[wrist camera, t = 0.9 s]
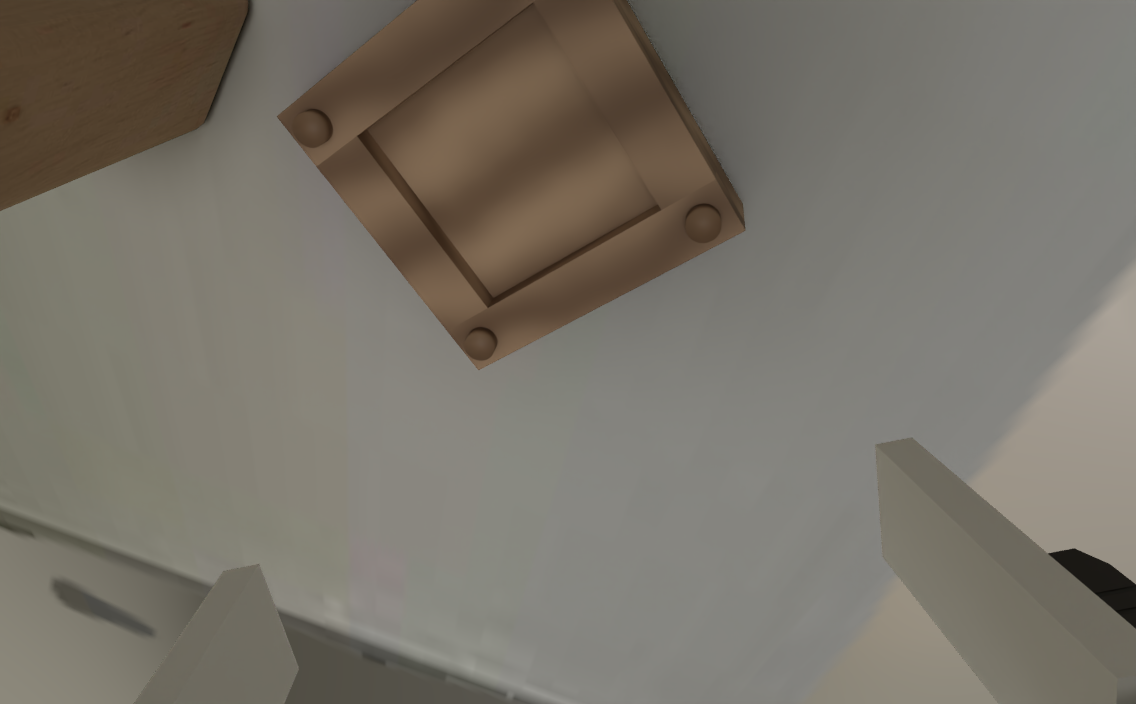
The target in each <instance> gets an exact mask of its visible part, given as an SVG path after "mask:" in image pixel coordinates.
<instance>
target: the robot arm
mask: <svg viewBox="0 0 1136 704" xmlns="http://www.w3.org/2000/svg"><path fill="white" fill-rule="evenodd" d="M875 448H876V463H877V479H878V494H879V509H880V524H881V540H882V555H883V558H884V559H885V560H886V562H887V563H888V564H889V566H890V567H891V568H892V569H893V571H894V572H895V573H896V574H897V576H898V577H899V578H900V579H901V581H902V582H903V583H904V584H905V586H906V587H907V588H908V589H909V591H910V592H911V593H912V595H913V596H914V597H915V598H916V600H917V601H918V602H919V603H920V605H921V606H922V607H923V609H924V610H925V611H926V612H927V613H928V615H929V616H930V617H931V619H932V620H933V621H934V622H935V624H936V625H937V626H938V628H939V629H940V630H941V631H942V633H943V634H944V635H945V636H946V638H947V639H948V640H949V641H950V643H951V644H952V645H953V646H954V648H955V649H956V650H957V651H958V653H959V654H960V655H961V657H962V658H963V659H964V660H965V662H966V663H967V664H968V666H969V667H970V668H971V669H972V671H973V672H974V673H975V674H976V676H977V677H978V678H979V679H980V681H981V682H982V683H983V685H984V686H985V687H986V688H987V689H988V691H989V692H990V693H991V695H992V696H993V697H994V698H995V700H996V701H997V702H998V703H999V704H1136V584H1135V583H1133V582H1132V581H1131V580H1129V579H1128V578H1127V577H1126V576H1124V575H1123V574H1122V573H1120V572H1119V571H1118V570H1117V569H1115V568H1114V567H1113V566H1111V565H1110V564H1108V563H1106V562H1103V561H1101V560H1099V559H1097V558H1094V557H1092V556H1090V555H1088V554H1086V553H1083V552H1081V551H1079V550H1077V549H1069V550H1064V551H1059V552H1053V553H1046V552H1045V551H1044V550H1043V549H1042V548H1041V547H1039V546H1038V545H1037V544H1036V543H1035V542H1033V541H1032V540H1031V539H1030V538H1029V537H1028V536H1027V535H1025V534H1024V533H1023V532H1022V531H1021V530H1019V529H1018V528H1017V527H1016V526H1015V525H1014V524H1012V523H1011V522H1010V521H1009V520H1008V519H1006V518H1005V517H1004V516H1003V515H1002V514H1001V513H1000V512H998V511H997V510H996V509H995V508H994V507H993V506H991V505H990V504H989V503H988V502H987V501H985V500H984V499H983V498H982V497H981V496H980V495H978V494H977V493H976V492H975V491H974V490H973V489H971V488H970V487H969V486H968V485H967V484H966V483H964V482H963V481H962V480H961V479H960V478H959V477H957V476H956V475H955V474H954V473H953V472H952V471H950V470H949V469H948V468H947V467H946V466H945V465H943V464H942V463H941V462H940V461H939V460H937V459H936V458H935V457H934V456H933V455H932V454H930V453H929V452H928V451H927V450H926V449H925V448H923V447H922V446H921V445H920V444H919V443H918V442H916V441H915V440H914V439H913V438H907V439H902V440H896V441H891V442H886V443H881V444H876V445H875ZM298 669H299V667H298V665H297V662H296V660H295V657H294V654H293V652H292V649H291V646H290V644H289V641H288V639H287V636H286V633H285V631H284V628H283V625H282V623H281V620H280V617H279V615H278V612H277V610H276V607H275V604H274V602H273V599H272V596H271V594H270V591H269V589H268V586H267V583H266V581H265V578H264V575H263V573H262V570H261V568H260V565H259V564H257V565H252V566H246V567H241V568H236V569H231V570H226V571H223V573H222V574H221V576H220V577H219V579H218V580H217V582H216V583H215V585H214V586H213V587H212V589H211V590H210V592H209V593H208V595H207V596H206V598H205V599H204V601H203V602H202V604H201V605H200V607H199V608H198V610H197V611H196V613H195V614H194V616H193V617H192V619H191V620H190V621H189V623H188V624H187V626H186V627H185V629H184V630H183V632H182V633H181V635H180V636H179V638H178V639H177V641H176V642H175V643H174V645H173V646H172V648H171V649H170V651H169V652H168V654H167V655H166V657H165V658H164V660H163V661H162V663H161V664H160V666H159V667H158V669H157V670H156V671H155V673H154V675H153V676H152V677H151V679H150V680H149V682H148V683H147V685H146V686H145V688H144V689H143V691H142V692H141V694H140V695H139V697H138V698H137V699H136V701H135V702H134V704H284V702H285V700H286V698H287V695H288V693H289V691H290V688H291V686H292V683H293V681H294V679H295V676H296V674H297V672H298Z"/></svg>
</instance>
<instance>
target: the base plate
mask: <svg viewBox="0 0 1136 704" xmlns="http://www.w3.org/2000/svg"><path fill="white" fill-rule="evenodd" d="M277 117H278V119H279V120H280V121H281V123H282V124H283V125H284V126H285V128H286V129H287V130H288V131H289V133H290V134H291V135H292V136H293V138H294V139H295V140H296V141H297V143H298V144H299V145H300V146H301V148H302V149H303V150H304V151H305V153H306V154H307V155H308V156H309V158H310V159H311V160H312V161H313V163H314V164H315V165H316V167H317V168H318V169H319V170H320V172H321V173H322V174H323V175H324V177H325V178H326V179H327V180H328V182H329V183H330V184H331V185H332V187H333V188H334V189H335V190H336V192H337V193H338V194H339V195H340V197H341V198H342V199H343V200H344V202H345V203H346V204H347V206H348V207H349V208H350V209H351V211H352V212H353V213H354V214H355V216H356V217H357V218H358V219H359V221H360V222H361V223H362V224H363V226H364V227H365V228H366V229H367V231H368V232H369V233H370V234H371V236H372V237H373V238H374V239H375V241H376V242H377V243H378V244H379V246H380V247H381V248H382V250H383V251H384V252H385V253H386V255H387V256H388V257H389V258H390V260H391V261H392V262H393V263H394V265H395V266H396V267H397V268H398V270H399V271H400V272H401V273H402V275H403V276H404V277H405V278H406V280H407V281H408V282H409V283H410V285H411V286H412V287H413V289H414V290H415V291H416V292H417V294H418V295H419V296H420V297H421V299H422V300H423V301H424V302H425V304H426V305H427V306H428V307H429V309H430V310H431V311H432V312H433V314H434V315H435V316H436V317H437V319H438V320H439V321H440V322H441V324H442V325H443V326H444V327H445V329H446V330H447V331H448V333H449V334H450V335H451V336H452V338H453V339H454V340H455V341H456V343H457V344H458V345H459V346H460V348H461V349H462V350H463V351H464V353H465V354H466V355H467V356H468V358H469V359H470V360H471V361H472V363H473V364H474V365H475V366H476V368H477V369H478V370H480V369H482V368H484V367H486V366H488V365H489V364H491V363H493V362H495V361H497V360H499V359H501V358H503V357H505V356H507V355H509V354H510V353H512V352H514V351H516V350H518V349H520V348H522V347H524V346H526V345H528V344H530V343H532V342H533V341H535V340H537V339H539V338H541V337H543V336H545V335H547V334H549V333H551V332H553V331H554V330H556V329H558V328H560V327H562V326H564V325H566V324H568V323H570V322H572V321H574V320H575V319H577V318H579V317H581V316H583V315H585V314H587V313H589V312H591V311H593V310H595V309H596V308H598V307H600V306H602V305H604V304H606V303H608V302H610V301H612V300H614V299H616V298H618V297H619V296H621V295H623V294H625V293H627V292H629V291H631V290H633V289H635V288H637V287H639V286H640V285H642V284H644V283H646V282H648V281H650V280H652V279H654V278H656V277H658V276H660V275H661V274H663V273H665V272H667V271H669V270H671V269H673V268H675V267H677V266H679V265H681V264H683V263H684V262H686V261H688V260H690V259H692V258H694V257H696V256H698V255H700V254H702V253H704V252H705V251H707V250H709V249H711V248H713V247H715V246H717V245H719V244H721V243H723V242H725V241H726V240H728V239H730V238H732V237H734V236H736V235H738V234H740V233H742V232H744V231H745V221H744V211H743V204H742V202H741V200H740V198H739V197H738V195H737V193H736V191H735V190H734V188H733V186H732V184H731V183H730V181H729V179H728V177H727V176H726V174H725V172H724V170H723V169H722V167H721V165H720V163H719V162H718V160H717V158H716V156H715V155H714V153H713V151H712V149H711V148H710V146H709V144H708V142H707V141H706V139H705V137H704V135H703V134H702V132H701V130H700V128H699V127H698V125H697V123H696V121H695V120H694V118H693V116H692V114H691V112H690V111H689V109H688V107H687V105H686V104H685V102H684V100H683V98H682V97H681V95H680V93H679V91H678V90H677V88H676V86H675V84H674V83H673V81H672V79H671V77H670V76H669V74H668V72H667V70H666V69H665V67H664V65H663V63H662V62H661V60H660V58H659V56H658V55H657V53H656V51H655V49H654V48H653V46H652V44H651V42H650V41H649V39H648V37H647V35H646V34H645V32H644V30H643V28H642V26H641V25H640V23H639V21H638V19H637V18H636V16H635V14H634V12H633V11H632V9H631V7H630V5H629V4H628V2H627V0H417V1H416V2H414V3H413V4H412V5H411V6H410V7H408V8H407V9H406V10H405V11H404V12H402V13H401V14H400V15H399V16H398V17H396V18H395V19H394V20H393V21H392V22H390V23H389V24H388V25H387V26H385V27H384V28H383V29H382V30H381V31H379V32H378V33H377V34H376V35H375V36H373V37H372V38H371V39H370V40H369V41H367V42H366V43H365V44H364V45H363V46H361V47H360V48H359V49H358V50H357V51H355V52H354V53H353V54H352V55H350V56H349V57H348V58H347V59H346V60H344V61H343V62H342V63H341V64H340V65H338V66H337V67H336V68H335V69H334V70H332V71H331V72H330V73H329V74H328V75H326V76H325V77H324V78H323V79H322V80H320V81H319V82H318V83H317V84H315V85H314V86H313V87H312V88H311V89H309V90H308V91H307V92H306V93H305V94H303V95H302V96H301V97H300V98H299V99H297V100H296V101H295V102H294V103H293V104H291V105H290V106H289V107H288V108H286V109H285V110H284V111H283V112H282V113H280V114H279V115H278V116H277Z"/></svg>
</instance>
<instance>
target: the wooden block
mask: <svg viewBox="0 0 1136 704" xmlns="http://www.w3.org/2000/svg"><path fill="white" fill-rule="evenodd" d="M247 12H248V0H0V211H1V210H3V209H6V208H8V207H11V206H13V205H15V204H18V203H20V202H23V201H25V200H27V199H30V198H32V197H35V196H37V195H39V194H42V193H44V192H47V191H49V190H51V189H54V188H56V187H59V186H61V185H63V184H66V183H68V182H70V181H73V180H75V179H78V178H80V177H82V176H85V175H87V174H90V173H92V172H94V171H97V170H99V169H102V168H104V167H106V166H109V165H111V164H114V163H116V162H118V161H121V160H123V159H126V158H128V157H130V156H133V155H135V154H137V153H140V152H142V151H145V150H147V149H149V148H152V147H154V146H157V145H159V144H161V143H164V142H166V141H169V140H171V139H173V138H176V137H178V136H181V135H183V134H185V133H188V132H190V131H193V130H195V129H197V128H198V127H199V126H201V125H202V124H203V123H204V121H205V119H206V117H207V114H208V111H209V109H210V106H211V104H212V101H213V99H214V96H215V94H216V91H217V89H218V86H219V83H220V81H221V78H222V76H223V73H224V71H225V68H226V66H227V63H228V61H229V58H230V55H231V53H232V50H233V48H234V45H235V43H236V40H237V38H238V35H239V33H240V30H241V27H242V25H243V22H244V20H245V17H246V15H247Z"/></svg>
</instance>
